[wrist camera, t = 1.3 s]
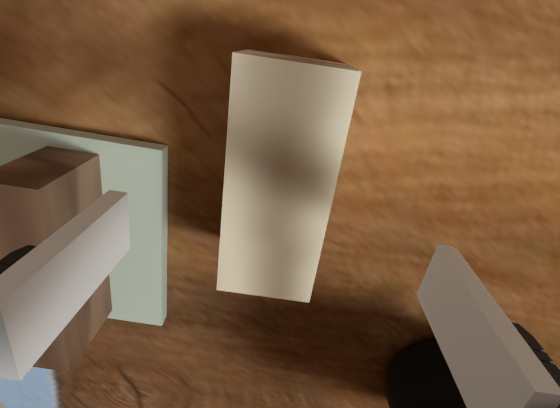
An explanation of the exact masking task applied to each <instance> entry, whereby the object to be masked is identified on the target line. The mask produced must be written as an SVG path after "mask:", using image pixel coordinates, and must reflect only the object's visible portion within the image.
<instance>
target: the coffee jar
mask: <svg viewBox="0 0 560 408" xmlns="http://www.w3.org/2000/svg"><path fill="white" fill-rule="evenodd" d="M385 391H386V395H387V399H388V403H389V407H390V408H467V407H466V405H465V402H464V400H463V398H462V396H461V394H460V391H459V389H458V387H457V385H456V382H455V380H454V378H453V376H452V373H451V371H450V369H449V367H448V364H447V362H446V360H445V358H444V356H443V353H442V351H441V349H440V347H439V344H438V342H437V340H436V338H432V339H427V340H423V341H421V342H418V343H416V344H414V345H412V346H409V347H408V348H407V349H405V350H404V351H403V352H402V353H400V354H399V355H398V356H397V357H396V359H395V360H394V362H393V363H392V365H391V367H390V370H389V372H388V374H387V379H386V386H385Z"/></svg>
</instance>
